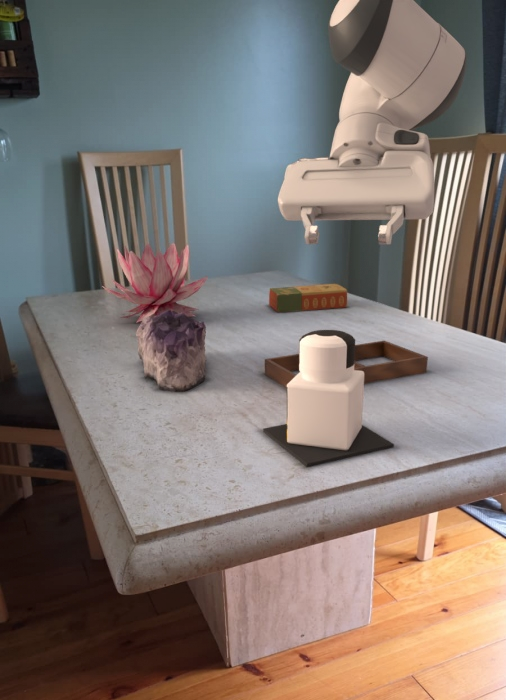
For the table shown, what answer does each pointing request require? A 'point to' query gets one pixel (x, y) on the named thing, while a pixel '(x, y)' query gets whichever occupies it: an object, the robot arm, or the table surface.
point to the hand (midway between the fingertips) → (346, 241)
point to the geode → (173, 350)
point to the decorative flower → (157, 282)
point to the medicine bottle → (325, 392)
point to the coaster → (317, 455)
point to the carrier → (401, 366)
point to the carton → (307, 297)
